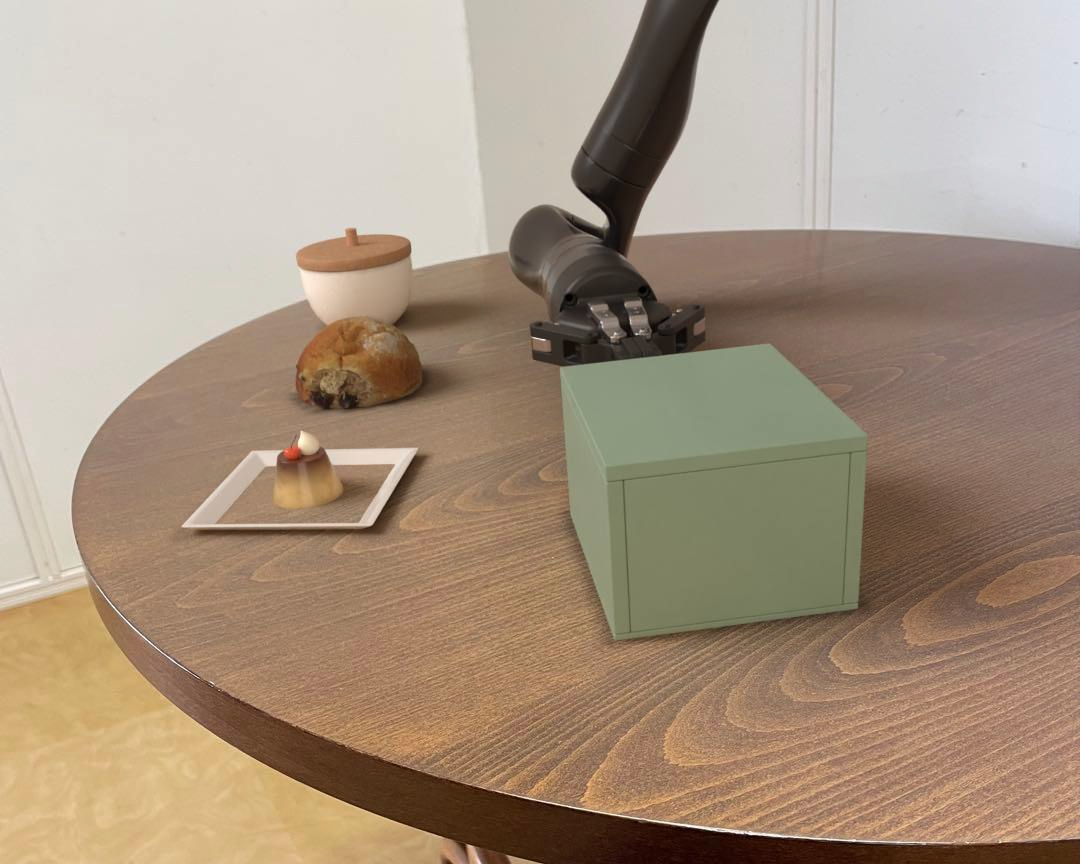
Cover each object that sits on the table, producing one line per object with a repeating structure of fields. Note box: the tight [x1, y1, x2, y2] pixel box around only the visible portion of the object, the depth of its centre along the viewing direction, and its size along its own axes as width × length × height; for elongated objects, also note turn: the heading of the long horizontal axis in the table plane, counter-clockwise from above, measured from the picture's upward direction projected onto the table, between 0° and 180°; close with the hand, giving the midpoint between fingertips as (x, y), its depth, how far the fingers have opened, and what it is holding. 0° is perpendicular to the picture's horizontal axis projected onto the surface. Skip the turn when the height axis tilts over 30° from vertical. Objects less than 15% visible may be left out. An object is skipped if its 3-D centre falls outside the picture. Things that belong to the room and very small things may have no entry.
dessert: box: [181, 430, 419, 531], centre depth 72 cm, size 12×12×5 cm
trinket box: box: [295, 227, 414, 326], centre depth 107 cm, size 11×11×9 cm
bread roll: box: [295, 316, 423, 410], centre depth 90 cm, size 10×10×8 cm
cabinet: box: [559, 342, 869, 641], centre depth 59 cm, size 15×12×10 cm
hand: (644, 370), depth 71 cm, fingers closed
